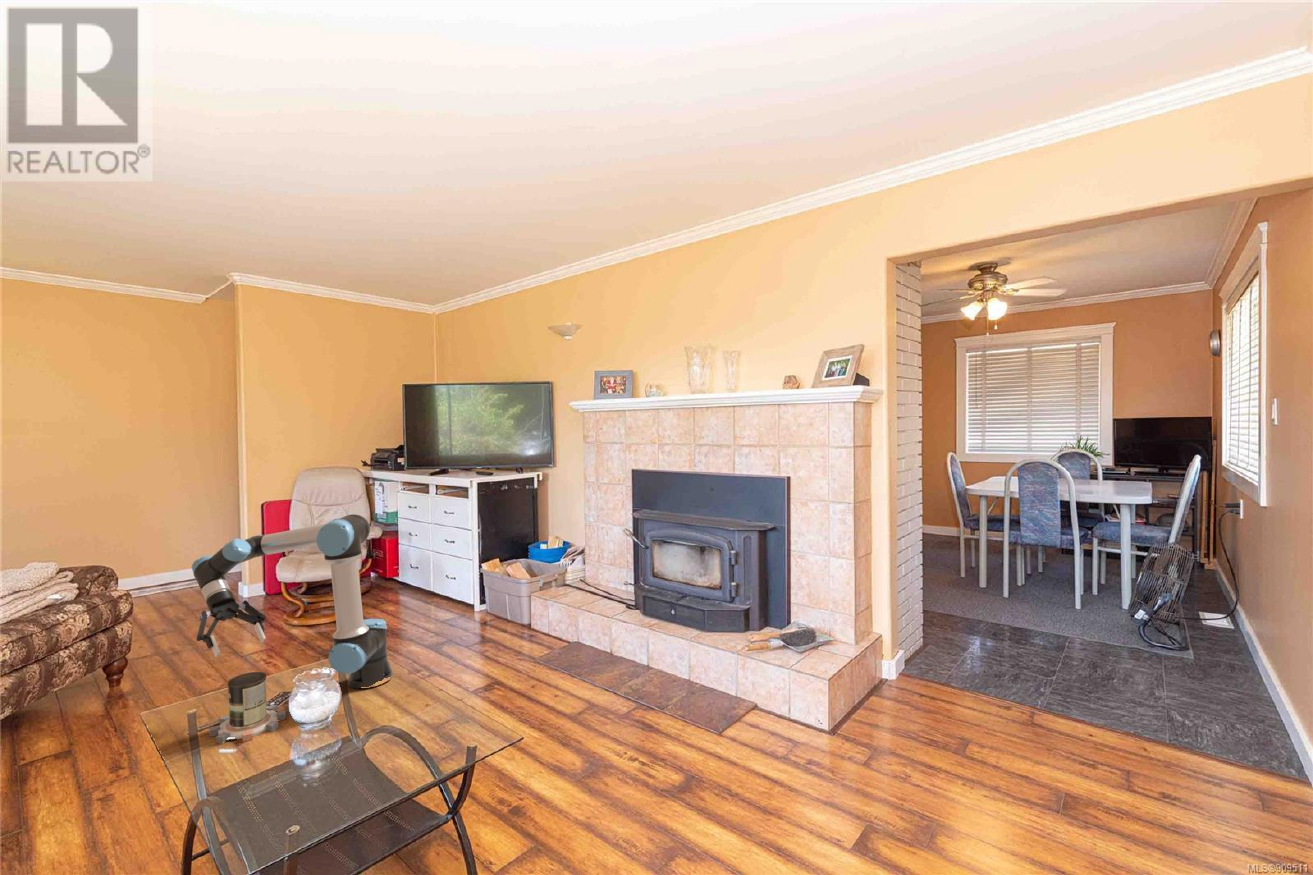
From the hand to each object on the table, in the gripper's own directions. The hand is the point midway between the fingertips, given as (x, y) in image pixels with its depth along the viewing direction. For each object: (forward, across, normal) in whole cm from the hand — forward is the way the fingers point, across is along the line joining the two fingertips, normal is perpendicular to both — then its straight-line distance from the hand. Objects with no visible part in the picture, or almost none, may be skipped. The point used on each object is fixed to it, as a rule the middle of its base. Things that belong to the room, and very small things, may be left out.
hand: (241, 647), depth 198 cm
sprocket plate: (+22, +2, -11) cm, 25 cm away
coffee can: (+21, +2, -10) cm, 24 cm away
